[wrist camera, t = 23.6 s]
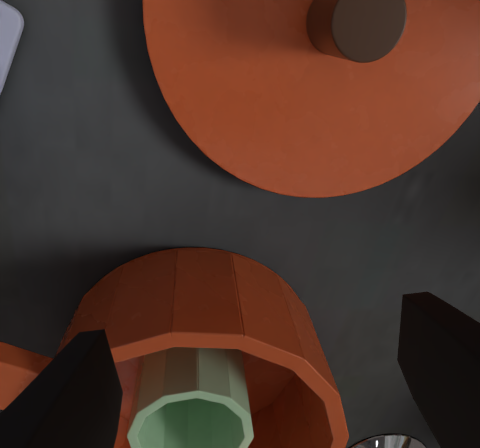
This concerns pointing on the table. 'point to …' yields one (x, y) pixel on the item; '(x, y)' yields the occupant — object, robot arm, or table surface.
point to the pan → (208, 339)
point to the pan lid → (316, 85)
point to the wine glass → (390, 442)
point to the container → (191, 400)
